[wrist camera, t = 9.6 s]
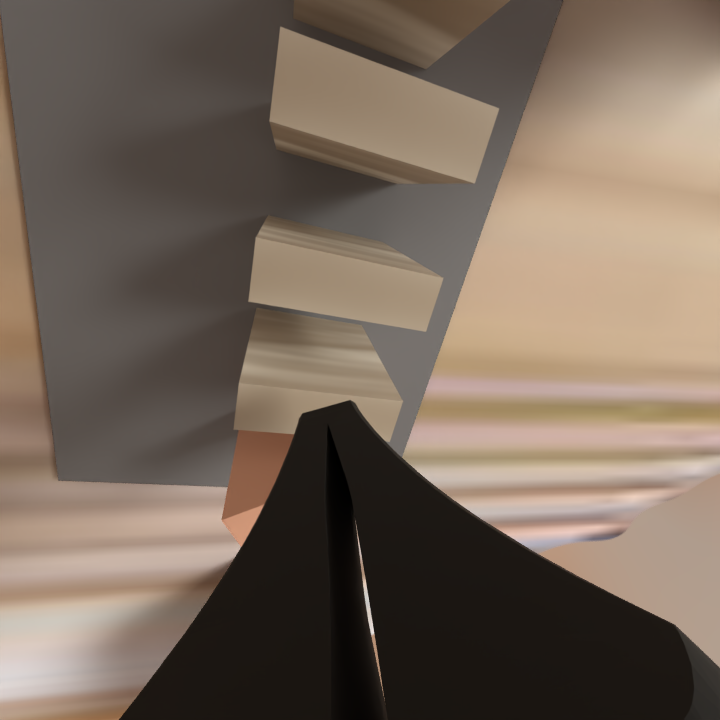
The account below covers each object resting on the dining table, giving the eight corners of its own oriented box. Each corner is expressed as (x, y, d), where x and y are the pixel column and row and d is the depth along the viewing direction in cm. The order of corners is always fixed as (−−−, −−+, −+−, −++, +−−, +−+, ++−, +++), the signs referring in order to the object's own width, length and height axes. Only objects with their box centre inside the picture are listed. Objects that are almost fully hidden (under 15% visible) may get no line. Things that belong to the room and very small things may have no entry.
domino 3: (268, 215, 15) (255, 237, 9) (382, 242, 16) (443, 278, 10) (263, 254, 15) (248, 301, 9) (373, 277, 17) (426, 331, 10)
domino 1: (243, 407, 18) (221, 520, 12) (335, 374, 18) (360, 469, 12) (256, 430, 19) (242, 548, 13) (344, 398, 19) (372, 499, 13)
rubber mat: (601, -121, 12) (608, -128, 12) (388, 489, 23) (389, 493, 23) (-59, -535, 8) (-71, -561, 7) (61, 476, 18) (58, 480, 18)
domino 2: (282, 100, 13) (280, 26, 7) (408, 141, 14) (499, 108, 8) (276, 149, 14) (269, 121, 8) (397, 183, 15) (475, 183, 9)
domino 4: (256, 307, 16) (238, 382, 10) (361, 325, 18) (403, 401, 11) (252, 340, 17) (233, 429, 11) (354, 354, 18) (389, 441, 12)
